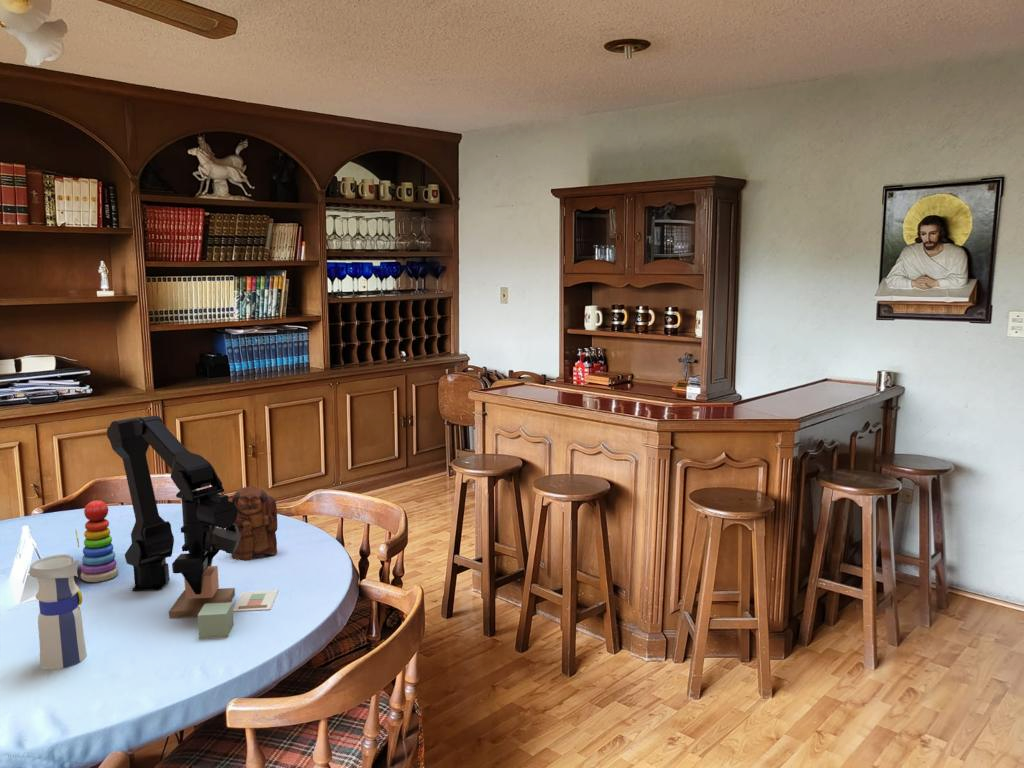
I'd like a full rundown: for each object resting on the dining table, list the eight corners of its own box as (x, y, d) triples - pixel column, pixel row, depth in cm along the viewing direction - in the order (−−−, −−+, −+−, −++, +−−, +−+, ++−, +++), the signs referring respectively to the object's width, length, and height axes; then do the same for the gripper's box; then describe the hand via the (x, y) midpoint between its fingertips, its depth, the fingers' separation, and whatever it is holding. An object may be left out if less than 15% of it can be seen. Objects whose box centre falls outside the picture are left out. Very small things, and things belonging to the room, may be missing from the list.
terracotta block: (185, 598, 169) (184, 576, 168) (193, 588, 174) (191, 566, 173) (212, 597, 169) (210, 575, 169) (218, 587, 175) (217, 565, 174)
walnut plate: (169, 618, 166) (168, 611, 166) (184, 596, 177) (184, 590, 177) (223, 615, 167) (222, 608, 167) (235, 594, 178) (234, 587, 178)
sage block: (199, 639, 157) (197, 615, 156) (206, 626, 163) (204, 603, 162) (227, 637, 158) (226, 613, 157) (233, 625, 163) (232, 602, 162)
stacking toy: (103, 584, 184) (96, 507, 181) (73, 582, 186) (66, 505, 183) (125, 571, 192) (119, 497, 189) (97, 569, 193) (90, 495, 190)
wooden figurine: (231, 562, 197) (226, 493, 194) (229, 554, 203) (225, 486, 200) (280, 556, 202) (276, 488, 199) (277, 548, 207) (274, 481, 205)
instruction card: (232, 611, 169) (232, 610, 169) (242, 592, 179) (242, 591, 179) (270, 609, 170) (270, 608, 170) (278, 591, 180) (278, 589, 180)
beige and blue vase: (77, 643, 155) (66, 521, 151) (96, 657, 150) (85, 530, 146) (31, 659, 149) (18, 532, 145) (49, 674, 143) (36, 543, 140)
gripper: (225, 532, 161) (230, 604, 163) (245, 505, 179) (249, 570, 182) (168, 534, 160) (174, 607, 162) (194, 507, 178) (198, 572, 180)
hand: (201, 588), depth 172 cm, fingers closed on terracotta block, 5 cm apart
